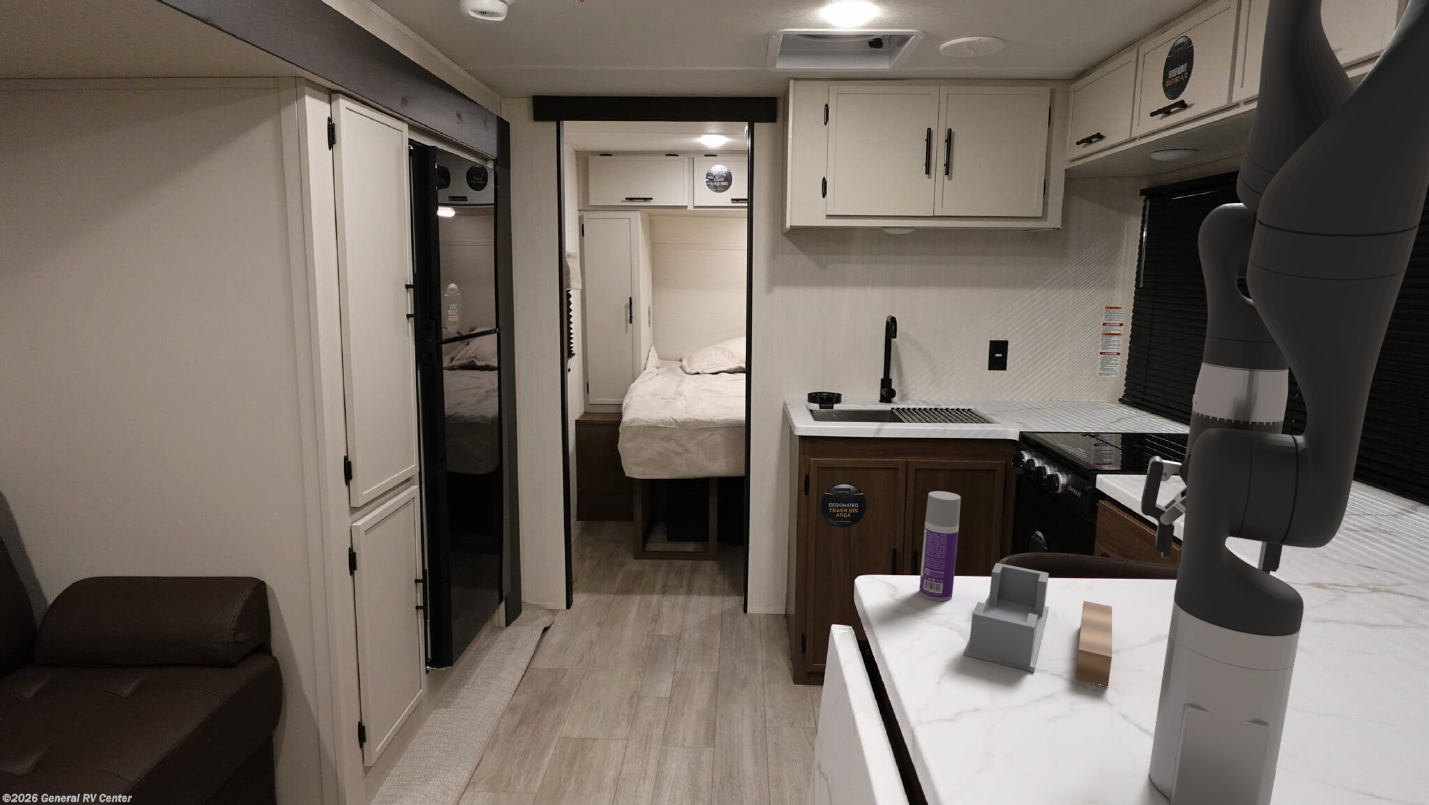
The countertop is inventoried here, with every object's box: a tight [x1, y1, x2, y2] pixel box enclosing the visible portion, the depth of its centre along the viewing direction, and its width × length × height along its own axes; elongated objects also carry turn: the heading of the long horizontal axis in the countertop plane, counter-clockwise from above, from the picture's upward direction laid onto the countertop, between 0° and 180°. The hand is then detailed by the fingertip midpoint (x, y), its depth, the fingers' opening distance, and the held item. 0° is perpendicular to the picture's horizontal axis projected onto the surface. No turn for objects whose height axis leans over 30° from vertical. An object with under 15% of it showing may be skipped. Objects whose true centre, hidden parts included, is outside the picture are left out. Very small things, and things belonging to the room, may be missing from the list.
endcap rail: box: [963, 562, 1050, 673], centre depth 100 cm, size 20×8×6 cm, turn 152°
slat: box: [1074, 600, 1113, 687], centre depth 95 cm, size 16×3×4 cm, turn 153°
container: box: [918, 490, 962, 602], centre depth 110 cm, size 5×5×15 cm
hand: (1213, 564), depth 79 cm, fingers open, 8 cm apart
